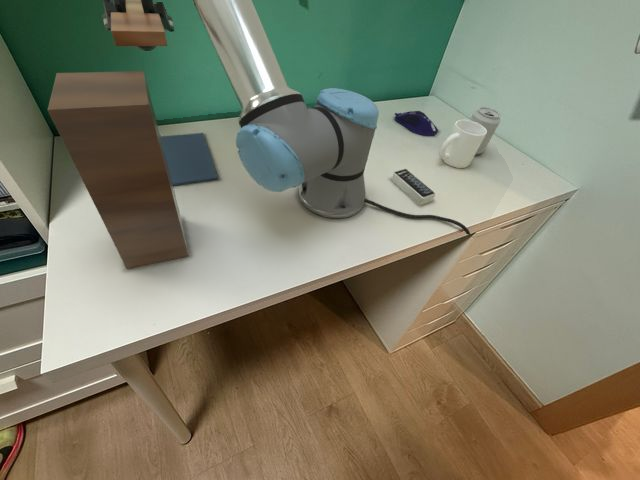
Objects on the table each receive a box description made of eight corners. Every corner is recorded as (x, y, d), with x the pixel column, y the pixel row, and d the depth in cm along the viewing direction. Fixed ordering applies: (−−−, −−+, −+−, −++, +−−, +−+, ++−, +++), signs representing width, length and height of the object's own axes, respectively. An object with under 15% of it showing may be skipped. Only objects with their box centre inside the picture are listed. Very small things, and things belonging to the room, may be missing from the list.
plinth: (125, 229, 61) (56, 72, 41) (181, 219, 65) (143, 70, 45) (126, 269, 55) (47, 109, 35) (188, 256, 59) (148, 104, 39)
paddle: (113, 2, 61) (110, -11, 60) (154, 4, 64) (152, -8, 62) (115, 46, 47) (111, 30, 46) (167, 46, 50) (164, 31, 48)
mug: (443, 173, 88) (460, 139, 81) (424, 156, 93) (438, 123, 85) (475, 166, 93) (493, 133, 85) (455, 150, 98) (471, 118, 90)
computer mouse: (431, 139, 100) (436, 127, 97) (387, 122, 105) (391, 110, 102) (440, 128, 106) (445, 116, 103) (398, 112, 110) (402, 101, 107)
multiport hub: (419, 205, 77) (423, 198, 76) (390, 179, 83) (393, 171, 82) (432, 201, 79) (436, 193, 78) (403, 175, 85) (406, 168, 83)
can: (458, 152, 97) (477, 113, 88) (457, 140, 102) (475, 102, 93) (483, 158, 96) (505, 120, 87) (481, 146, 101) (502, 108, 92)
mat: (154, 139, 83) (153, 137, 82) (203, 134, 87) (202, 132, 86) (161, 187, 71) (160, 185, 70) (218, 179, 75) (217, 177, 74)
